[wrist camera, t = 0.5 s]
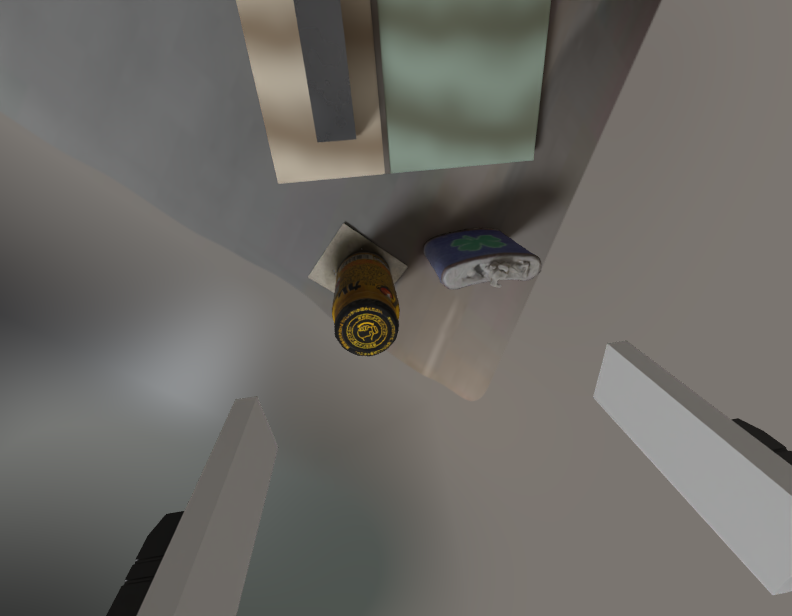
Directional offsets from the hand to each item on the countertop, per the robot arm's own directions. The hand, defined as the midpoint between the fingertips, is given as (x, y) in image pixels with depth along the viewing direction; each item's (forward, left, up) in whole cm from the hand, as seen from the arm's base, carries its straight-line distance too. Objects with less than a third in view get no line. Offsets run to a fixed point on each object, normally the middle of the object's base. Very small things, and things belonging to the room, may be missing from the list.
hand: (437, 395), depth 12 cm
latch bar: (-16, -3, -22) cm, 28 cm away
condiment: (+4, -3, -25) cm, 26 cm away
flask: (+2, +9, -25) cm, 27 cm away
